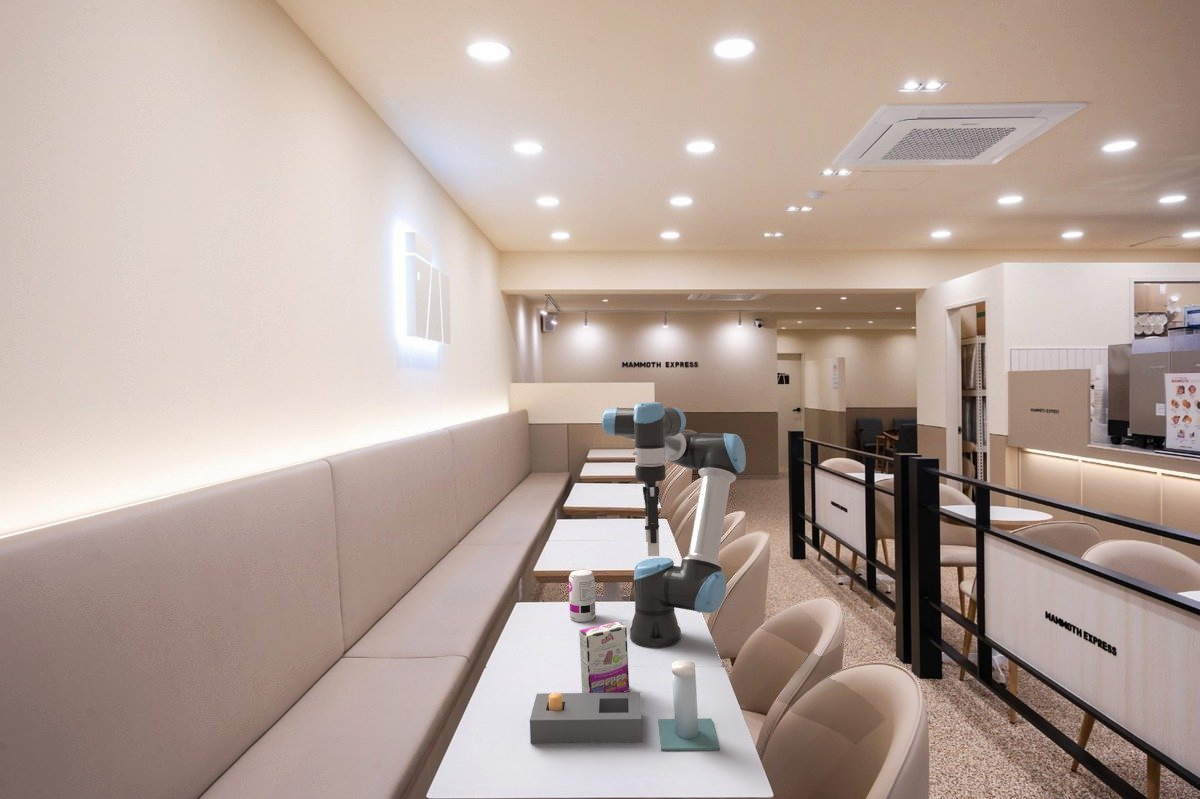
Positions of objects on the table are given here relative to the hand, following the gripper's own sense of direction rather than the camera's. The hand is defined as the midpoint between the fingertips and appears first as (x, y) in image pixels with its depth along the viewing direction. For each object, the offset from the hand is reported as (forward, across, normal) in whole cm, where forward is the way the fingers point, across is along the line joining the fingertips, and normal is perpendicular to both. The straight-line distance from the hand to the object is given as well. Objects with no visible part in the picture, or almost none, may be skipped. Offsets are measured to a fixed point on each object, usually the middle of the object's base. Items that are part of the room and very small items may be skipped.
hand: (652, 548), depth 169 cm
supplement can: (+35, -47, -21) cm, 62 cm away
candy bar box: (+35, +4, -13) cm, 37 cm away
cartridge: (+34, +24, +6) cm, 42 cm away
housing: (+35, +20, -16) cm, 43 cm away
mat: (+35, +24, +6) cm, 43 cm away
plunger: (+33, +20, -23) cm, 46 cm away
